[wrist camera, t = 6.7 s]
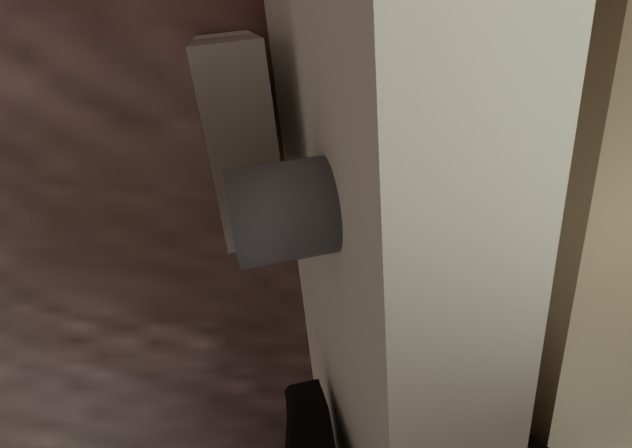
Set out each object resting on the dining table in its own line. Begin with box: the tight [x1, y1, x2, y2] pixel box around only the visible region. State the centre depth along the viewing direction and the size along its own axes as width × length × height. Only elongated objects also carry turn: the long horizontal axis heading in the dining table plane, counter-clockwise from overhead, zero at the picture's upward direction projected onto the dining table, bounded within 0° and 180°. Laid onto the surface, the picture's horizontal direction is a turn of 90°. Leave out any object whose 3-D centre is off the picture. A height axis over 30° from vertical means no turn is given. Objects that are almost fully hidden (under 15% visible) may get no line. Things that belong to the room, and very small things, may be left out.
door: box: [223, 0, 596, 448], centre depth 9 cm, size 16×3×7 cm, turn 6°
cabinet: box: [185, 0, 632, 448], centre depth 11 cm, size 20×15×6 cm
